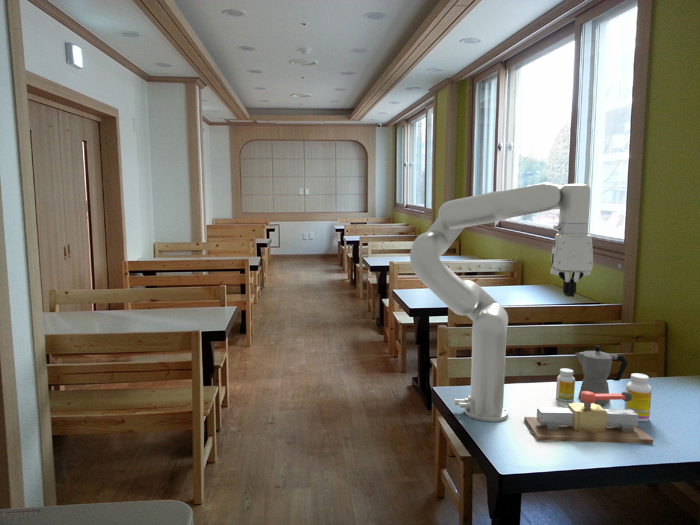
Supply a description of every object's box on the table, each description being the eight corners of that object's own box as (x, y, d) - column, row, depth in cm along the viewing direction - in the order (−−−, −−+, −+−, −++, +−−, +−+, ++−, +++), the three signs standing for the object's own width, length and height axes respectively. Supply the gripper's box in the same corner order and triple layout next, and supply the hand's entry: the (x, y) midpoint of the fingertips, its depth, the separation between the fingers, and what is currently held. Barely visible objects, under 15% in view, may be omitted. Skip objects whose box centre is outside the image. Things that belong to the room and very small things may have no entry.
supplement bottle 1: (552, 396, 179) (554, 367, 178) (567, 395, 180) (569, 367, 179) (562, 402, 174) (564, 373, 172) (577, 401, 175) (579, 372, 174)
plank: (537, 440, 146) (538, 436, 146) (524, 420, 159) (524, 416, 159) (652, 443, 145) (653, 439, 145) (629, 423, 158) (630, 419, 158)
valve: (541, 433, 149) (543, 410, 149) (534, 423, 156) (535, 401, 155) (639, 436, 148) (641, 413, 148) (628, 426, 155) (629, 404, 154)
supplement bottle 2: (652, 423, 158) (656, 380, 157) (627, 421, 160) (630, 378, 158) (645, 414, 165) (648, 373, 163) (621, 412, 166) (624, 371, 165)
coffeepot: (571, 402, 174) (575, 346, 172) (571, 392, 183) (575, 339, 180) (626, 410, 168) (630, 352, 166) (623, 399, 177) (627, 345, 175)
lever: (584, 409, 149) (585, 394, 149) (577, 404, 153) (578, 389, 152) (634, 408, 150) (635, 393, 150) (626, 403, 154) (627, 389, 153)
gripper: (549, 230, 147) (546, 297, 149) (606, 230, 147) (602, 298, 149) (541, 228, 155) (537, 293, 157) (595, 229, 154) (591, 294, 156)
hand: (569, 295), depth 153 cm, fingers closed
